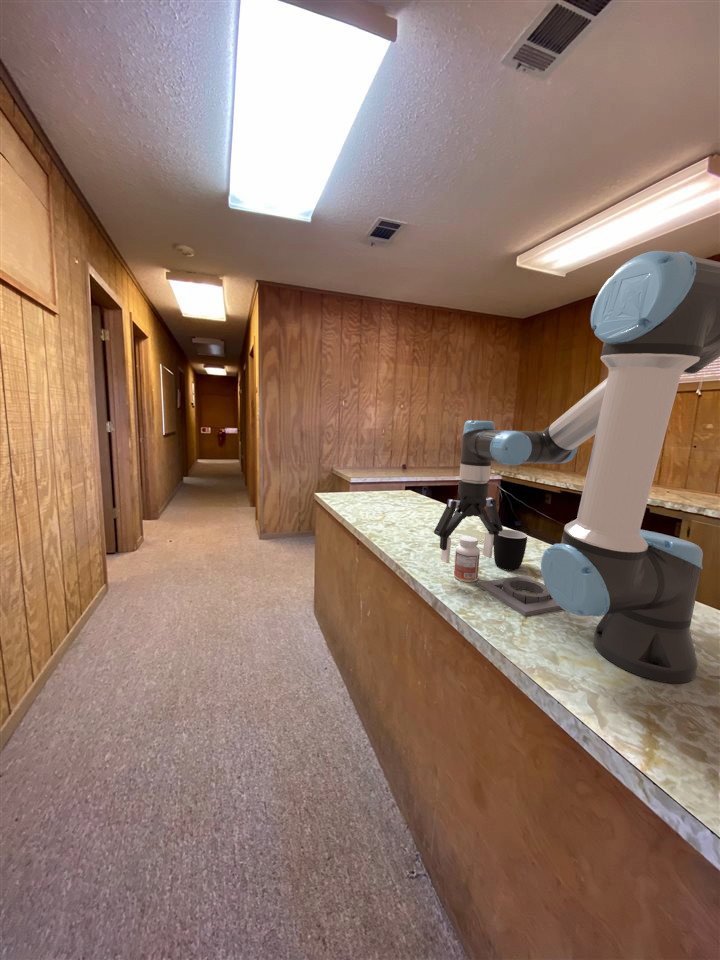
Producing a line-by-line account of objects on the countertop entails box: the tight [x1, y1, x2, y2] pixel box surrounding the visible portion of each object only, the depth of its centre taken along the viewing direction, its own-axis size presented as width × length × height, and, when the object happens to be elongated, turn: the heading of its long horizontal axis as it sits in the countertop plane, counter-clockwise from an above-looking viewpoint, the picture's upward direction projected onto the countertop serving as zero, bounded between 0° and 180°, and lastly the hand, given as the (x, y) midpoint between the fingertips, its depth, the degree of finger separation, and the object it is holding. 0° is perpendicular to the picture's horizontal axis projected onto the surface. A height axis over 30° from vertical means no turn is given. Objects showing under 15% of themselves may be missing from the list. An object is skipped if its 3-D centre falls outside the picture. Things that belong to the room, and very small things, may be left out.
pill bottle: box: [453, 535, 481, 583], centre depth 101 cm, size 6×6×11 cm
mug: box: [493, 528, 528, 571], centre depth 112 cm, size 12×9×10 cm
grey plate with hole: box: [477, 574, 564, 617], centre depth 93 cm, size 16×16×2 cm
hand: (466, 558), depth 101 cm, fingers open, 13 cm apart
